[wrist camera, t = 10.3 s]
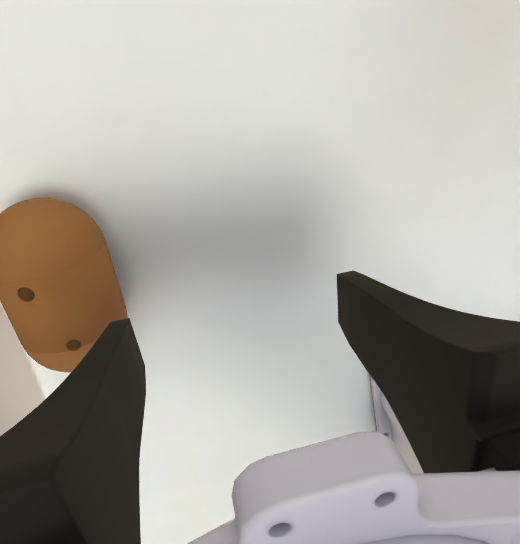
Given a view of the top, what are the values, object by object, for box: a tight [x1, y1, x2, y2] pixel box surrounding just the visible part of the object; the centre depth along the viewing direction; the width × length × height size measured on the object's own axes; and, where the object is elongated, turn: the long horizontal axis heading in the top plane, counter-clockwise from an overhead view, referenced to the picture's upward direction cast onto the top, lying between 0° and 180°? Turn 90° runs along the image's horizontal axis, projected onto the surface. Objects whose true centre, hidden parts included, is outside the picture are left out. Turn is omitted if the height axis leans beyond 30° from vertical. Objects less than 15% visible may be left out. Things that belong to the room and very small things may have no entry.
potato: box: [0, 198, 127, 372], centre depth 19 cm, size 8×5×5 cm, turn 6°
